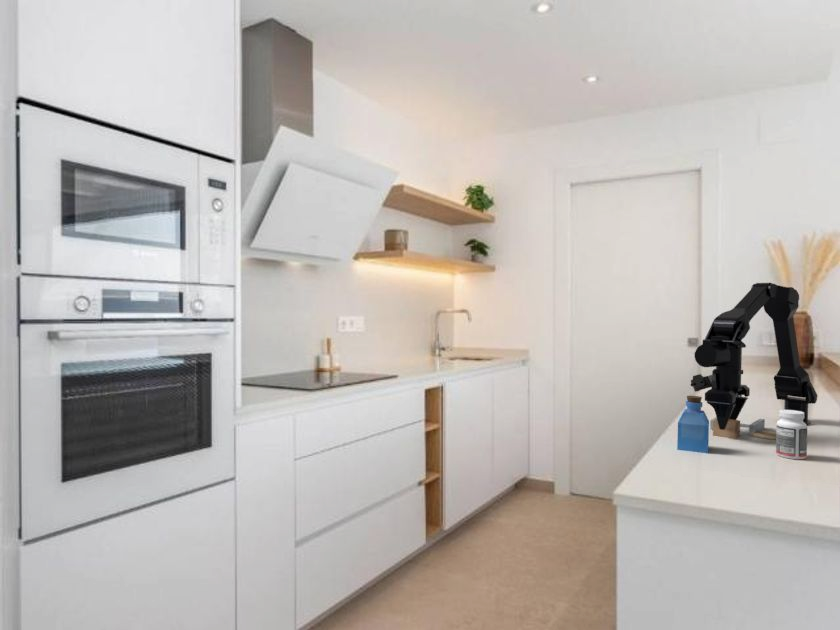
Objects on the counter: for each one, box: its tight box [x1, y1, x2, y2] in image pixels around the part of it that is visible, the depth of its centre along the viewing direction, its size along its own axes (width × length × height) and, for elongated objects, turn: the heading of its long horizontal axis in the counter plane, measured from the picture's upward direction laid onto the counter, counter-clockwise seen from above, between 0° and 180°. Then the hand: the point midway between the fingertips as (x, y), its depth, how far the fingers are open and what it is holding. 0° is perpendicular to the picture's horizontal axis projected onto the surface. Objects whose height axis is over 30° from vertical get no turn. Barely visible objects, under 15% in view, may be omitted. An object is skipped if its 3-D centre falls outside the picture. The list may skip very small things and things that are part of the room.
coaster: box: [750, 429, 776, 441], centre depth 148 cm, size 8×8×1 cm
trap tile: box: [740, 422, 750, 429], centre depth 160 cm, size 3×7×1 cm, turn 49°
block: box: [712, 419, 741, 440], centre depth 148 cm, size 5×5×4 cm
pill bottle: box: [775, 409, 808, 460], centre depth 128 cm, size 6×6×10 cm
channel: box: [709, 417, 766, 436], centre depth 156 cm, size 12×10×2 cm
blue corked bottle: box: [676, 395, 710, 454], centre depth 134 cm, size 6×6×12 cm
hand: (727, 426), depth 148 cm, fingers open, 9 cm apart
